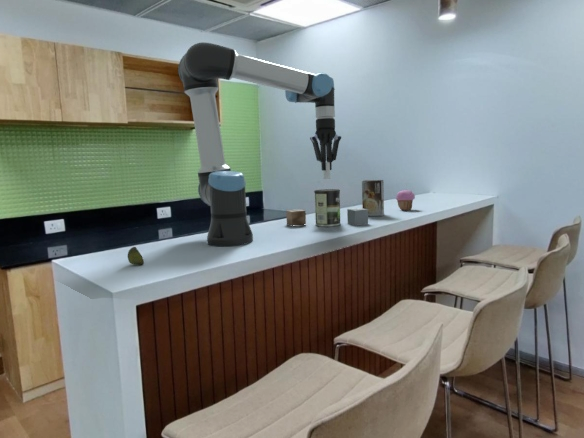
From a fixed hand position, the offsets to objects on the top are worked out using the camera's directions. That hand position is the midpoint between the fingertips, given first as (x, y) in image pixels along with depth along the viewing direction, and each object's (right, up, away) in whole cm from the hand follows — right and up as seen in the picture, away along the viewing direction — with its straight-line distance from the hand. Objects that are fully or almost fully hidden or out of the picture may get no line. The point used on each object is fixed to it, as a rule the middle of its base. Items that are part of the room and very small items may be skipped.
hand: (326, 178), depth 167 cm
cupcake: (+42, -12, +40) cm, 60 cm away
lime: (-56, -29, -55) cm, 83 cm away
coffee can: (+1, -19, +3) cm, 19 cm away
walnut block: (-12, -19, +5) cm, 23 cm away
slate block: (+13, -18, +2) cm, 22 cm away
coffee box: (+24, -15, +26) cm, 38 cm away
